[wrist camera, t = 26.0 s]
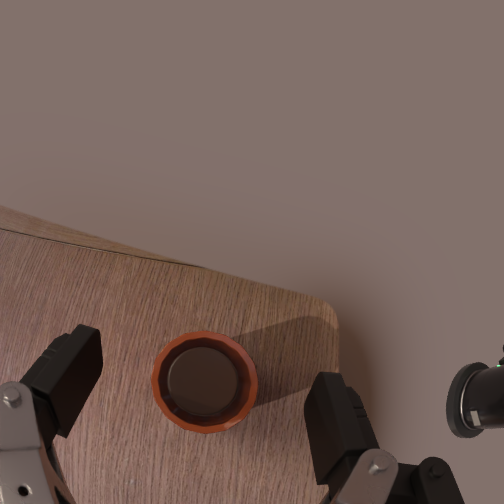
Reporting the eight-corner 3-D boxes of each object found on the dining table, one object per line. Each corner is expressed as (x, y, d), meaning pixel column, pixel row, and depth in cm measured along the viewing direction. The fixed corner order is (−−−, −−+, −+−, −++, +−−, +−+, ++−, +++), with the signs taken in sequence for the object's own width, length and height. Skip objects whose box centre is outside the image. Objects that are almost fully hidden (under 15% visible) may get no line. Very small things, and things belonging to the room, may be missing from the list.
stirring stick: (214, 370, 25) (231, 341, 9) (218, 393, 24) (245, 409, 8) (190, 373, 24) (161, 352, 8) (194, 397, 24) (174, 420, 8)
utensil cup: (234, 340, 27) (245, 323, 20) (250, 412, 24) (268, 421, 17) (160, 351, 25) (144, 338, 18) (174, 424, 23) (162, 439, 16)
